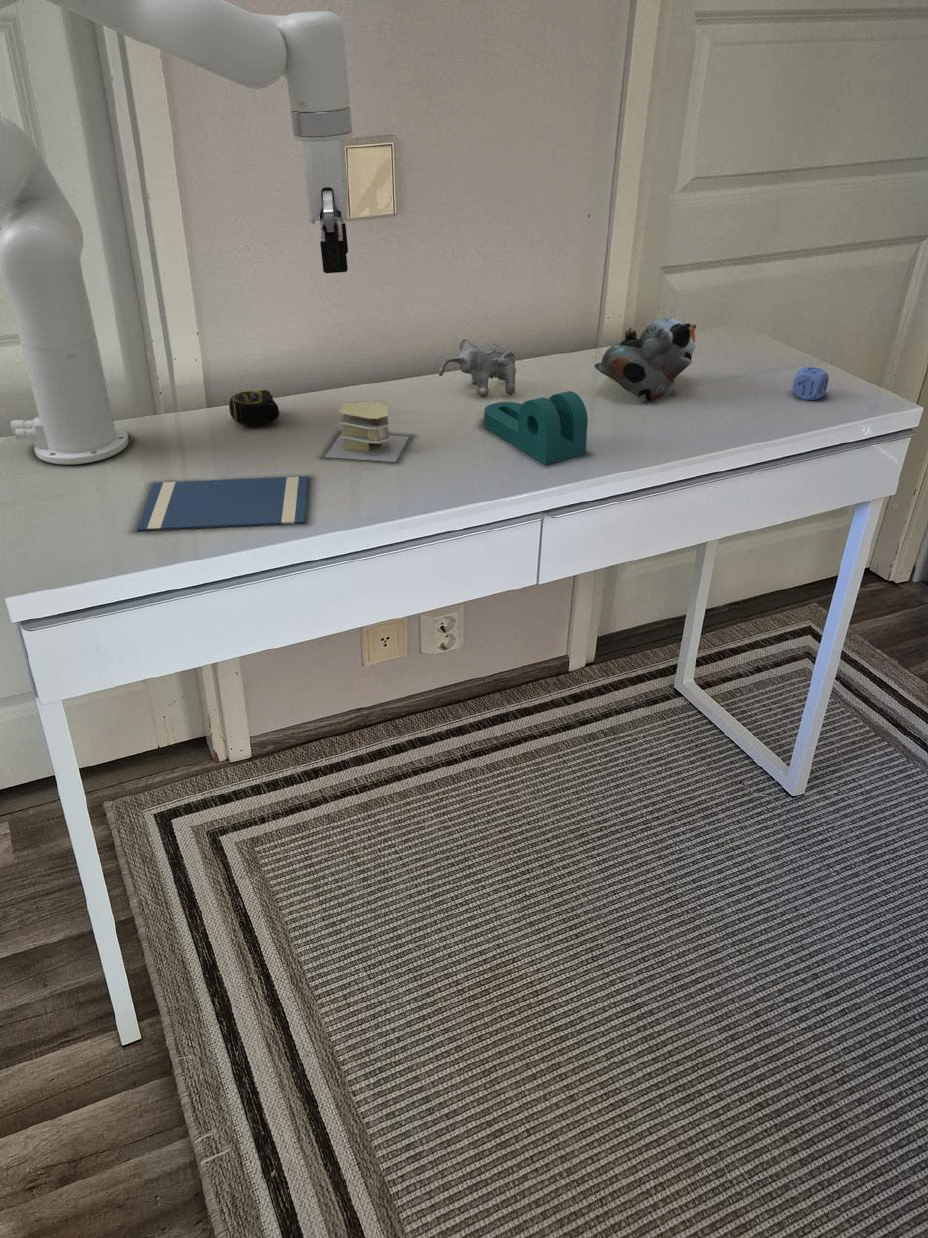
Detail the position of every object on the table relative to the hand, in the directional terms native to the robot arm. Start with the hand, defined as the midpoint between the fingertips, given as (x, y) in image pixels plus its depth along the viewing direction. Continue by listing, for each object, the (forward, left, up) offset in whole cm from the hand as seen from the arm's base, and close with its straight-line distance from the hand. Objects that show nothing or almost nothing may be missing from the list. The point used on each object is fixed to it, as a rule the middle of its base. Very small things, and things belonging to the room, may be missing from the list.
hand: (336, 262), depth 140 cm
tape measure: (-13, +2, -23) cm, 27 cm away
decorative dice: (+72, +3, -23) cm, 76 cm away
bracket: (+26, -9, -23) cm, 36 cm away
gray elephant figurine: (+21, +10, -23) cm, 33 cm away
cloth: (-15, -26, -23) cm, 38 cm away
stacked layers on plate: (+3, -10, -23) cm, 25 cm away
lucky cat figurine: (+47, +9, -23) cm, 53 cm away
